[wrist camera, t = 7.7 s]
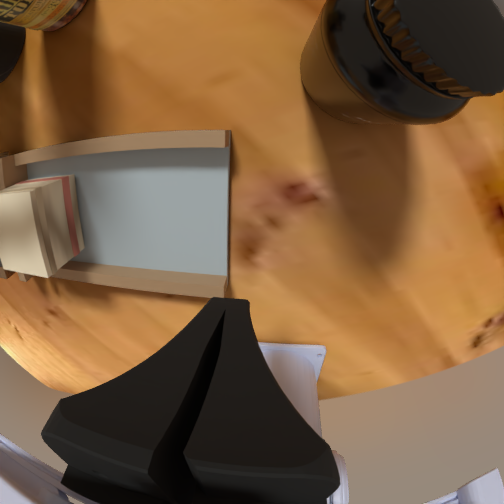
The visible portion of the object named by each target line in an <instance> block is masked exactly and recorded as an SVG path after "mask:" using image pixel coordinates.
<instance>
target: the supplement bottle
mask: <svg viewBox="0 0 504 504" xmlns="http://www.w3.org/2000/svg"><path fill="white" fill-rule="evenodd" d="M300 72H301V78H302V81H303V84H304V86H305V89H306V90H307V92H308V94H309V95H310V97H311V98H312V100H313V101H314V102H315V103H316V104H317V105H318V106H319V107H320V108H321V109H322V110H324V111H325V112H326V113H328V114H329V115H331V116H333V117H335V118H337V119H339V120H342V121H345V122H350V123H356V124H408V125H428V124H436V123H441V122H444V121H447V120H449V119H451V118H452V117H454V116H455V115H457V114H458V113H459V112H460V111H461V110H463V108H464V107H465V106H466V105H467V104H468V102H469V100H470V99H471V98H473V97H475V96H493V95H495V94H496V93H501V92H503V90H504V18H503V16H502V15H501V12H500V10H499V8H498V7H497V6H496V4H495V3H494V2H493V0H327V1H326V2H325V4H324V6H323V8H322V10H321V12H320V15H319V17H318V19H317V21H316V23H315V25H314V27H313V29H312V32H311V34H310V36H309V38H308V40H307V42H306V44H305V47H304V50H303V52H302V56H301V62H300Z"/></svg>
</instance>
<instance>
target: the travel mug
mask: <svg viewBox="0 0 504 504" xmlns="http://www.w3.org/2000/svg"><path fill="white" fill-rule="evenodd" d="M24 39H25V27H21V26H16V25H12V24H8V23H3V22H0V83H1V82H2V81H4V80H5V79H6V78H7V76H8V75H9V74H10V73H11V71H12V70H13V68H14V66H15V64H16V63H17V60H18V58H19V56H20V54H21V51H22V48H23V44H24Z"/></svg>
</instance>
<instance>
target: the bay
mask: <svg viewBox="0 0 504 504" xmlns="http://www.w3.org/2000/svg"><path fill="white" fill-rule="evenodd" d="M230 137H231V130H187V131H164V132H149V133H137V134H126V135H117V136H108V137H101V138H93V139H87V140H80V141H74V142H68V143H63V144H58V145H52V146H48V147H43V148H38V149H34V150H30V151H25V152H21V153H18V154H14V155H10V156H7V157H3V158H0V191H1V190H3V189H5V188H8V187H10V186H13V185H15V184H16V183H19V182H21V181H26V180H29V179H37V178H45V177H54V176H63V175H73V174H75V184H76V194H77V202H78V209H79V216H80V223H81V229H82V235H83V240H84V246H85V248H84V249H83V250H82V251H80V253H79V254H78V255H77V256H75V257H73V258H72V259H70V260H69V261H68V262H67V263H66V264H64V265H63V266H62V267H61V268H60V269H58V271H57V272H56V273H55V274H54V275H51V276H50V277H56V278H61V279H67V280H73V281H80V282H86V283H93V284H99V285H106V286H113V287H120V288H128V289H135V290H143V291H151V292H160V293H168V294H177V295H187V296H196V297H207V298H213V297H221V298H224V296H225V293H226V289H227V286H228V225H229V172H230ZM18 275H19V278H20V281H25V282H27V281H28V280H29V279H30V278H31V277H33V276H34V275H30V274H25V273H20V272H18Z"/></svg>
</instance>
